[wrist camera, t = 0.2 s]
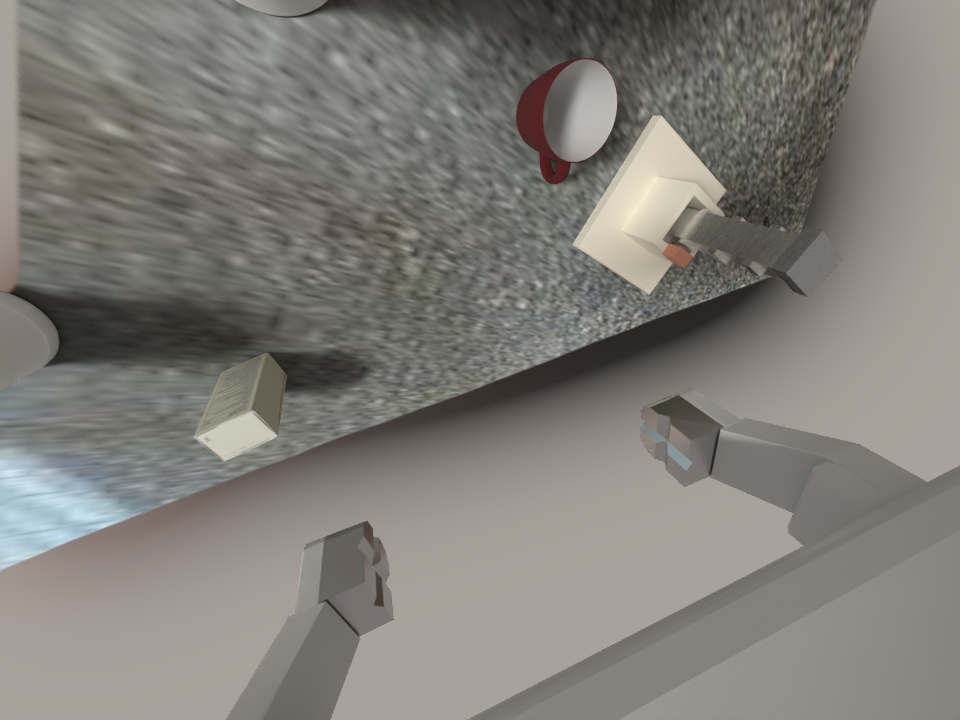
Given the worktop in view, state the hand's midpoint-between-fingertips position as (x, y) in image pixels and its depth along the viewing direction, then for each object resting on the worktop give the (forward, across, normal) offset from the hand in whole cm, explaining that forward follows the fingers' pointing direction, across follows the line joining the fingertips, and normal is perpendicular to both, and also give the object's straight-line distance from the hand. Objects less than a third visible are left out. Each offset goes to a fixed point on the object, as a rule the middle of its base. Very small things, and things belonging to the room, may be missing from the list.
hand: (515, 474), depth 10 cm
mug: (+39, -20, -7) cm, 45 cm away
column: (+41, -37, +8) cm, 56 cm away
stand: (+41, -37, +8) cm, 56 cm away
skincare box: (+40, +22, +12) cm, 47 cm away
